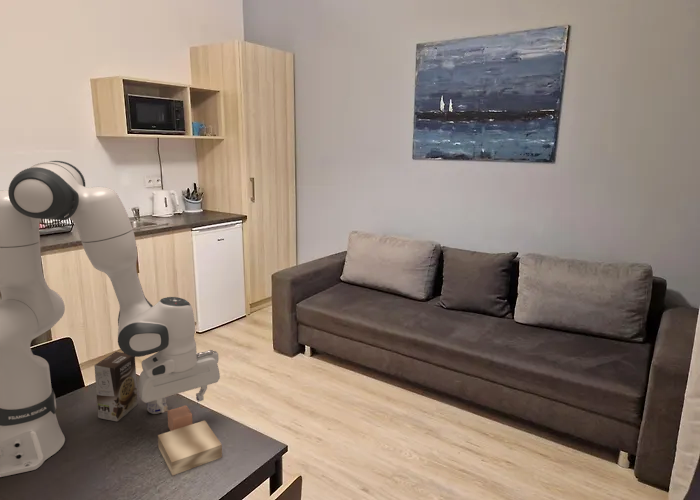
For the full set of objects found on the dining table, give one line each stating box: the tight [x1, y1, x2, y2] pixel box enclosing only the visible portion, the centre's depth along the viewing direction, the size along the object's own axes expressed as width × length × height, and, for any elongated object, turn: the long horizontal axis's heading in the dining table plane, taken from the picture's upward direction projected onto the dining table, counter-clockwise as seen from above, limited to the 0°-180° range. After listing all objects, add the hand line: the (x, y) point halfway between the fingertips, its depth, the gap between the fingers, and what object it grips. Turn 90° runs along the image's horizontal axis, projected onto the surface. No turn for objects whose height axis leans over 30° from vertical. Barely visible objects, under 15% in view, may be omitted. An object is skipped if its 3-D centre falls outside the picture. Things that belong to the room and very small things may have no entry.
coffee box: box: [94, 351, 139, 422], centre depth 132 cm, size 9×6×16 cm
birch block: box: [157, 419, 223, 476], centre depth 118 cm, size 12×12×4 cm
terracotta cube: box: [166, 404, 194, 431], centre depth 127 cm, size 5×5×5 cm
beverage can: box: [146, 397, 167, 415], centre depth 134 cm, size 5×5×15 cm
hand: (182, 405), depth 126 cm, fingers open, 8 cm apart
